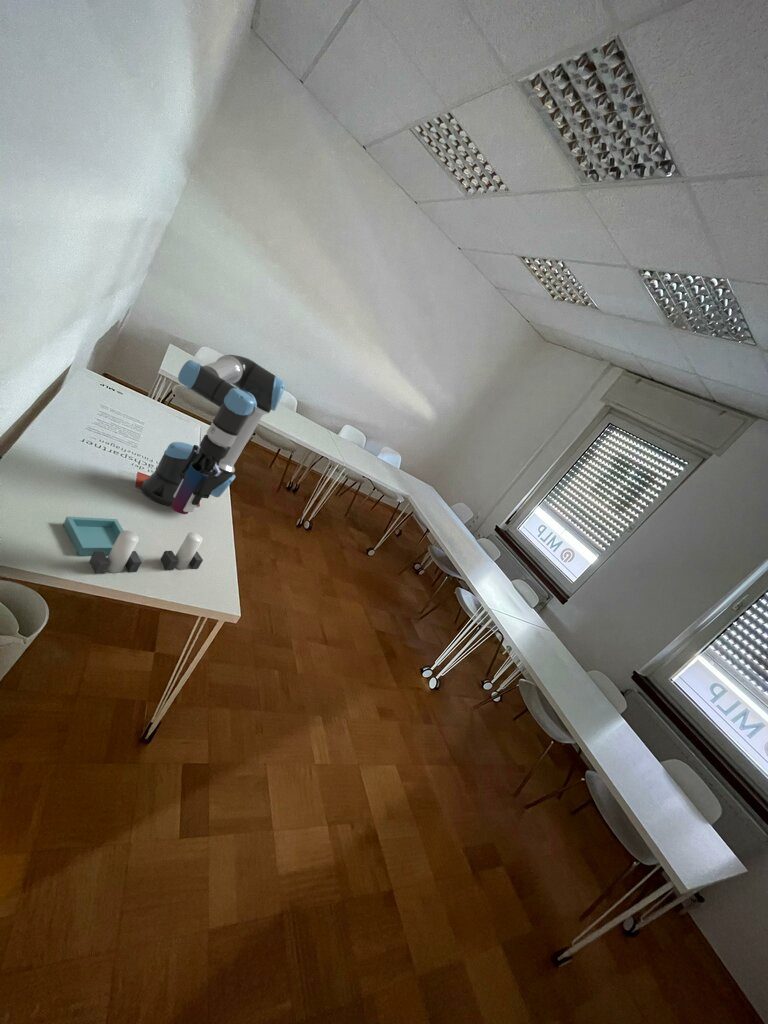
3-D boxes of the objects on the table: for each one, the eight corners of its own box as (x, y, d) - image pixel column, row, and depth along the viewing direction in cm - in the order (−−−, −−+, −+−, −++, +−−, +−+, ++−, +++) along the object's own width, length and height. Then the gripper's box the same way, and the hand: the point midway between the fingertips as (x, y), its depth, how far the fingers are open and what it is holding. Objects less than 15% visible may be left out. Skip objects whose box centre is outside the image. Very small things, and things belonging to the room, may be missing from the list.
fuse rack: (191, 559, 147) (206, 532, 144) (197, 568, 145) (213, 542, 142) (88, 562, 119) (105, 529, 116) (94, 574, 117) (111, 541, 114)
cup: (173, 499, 128) (195, 459, 124) (194, 510, 130) (216, 471, 126) (164, 507, 122) (187, 465, 118) (186, 519, 124) (209, 478, 120)
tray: (112, 526, 137) (116, 519, 136) (129, 555, 131) (133, 547, 130) (62, 524, 125) (66, 516, 124) (78, 556, 119) (82, 547, 118)
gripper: (191, 419, 120) (157, 483, 126) (223, 457, 112) (185, 523, 118) (214, 425, 126) (180, 486, 133) (245, 462, 118) (208, 525, 124)
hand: (182, 504), depth 125 cm, fingers closed on cup, 6 cm apart
